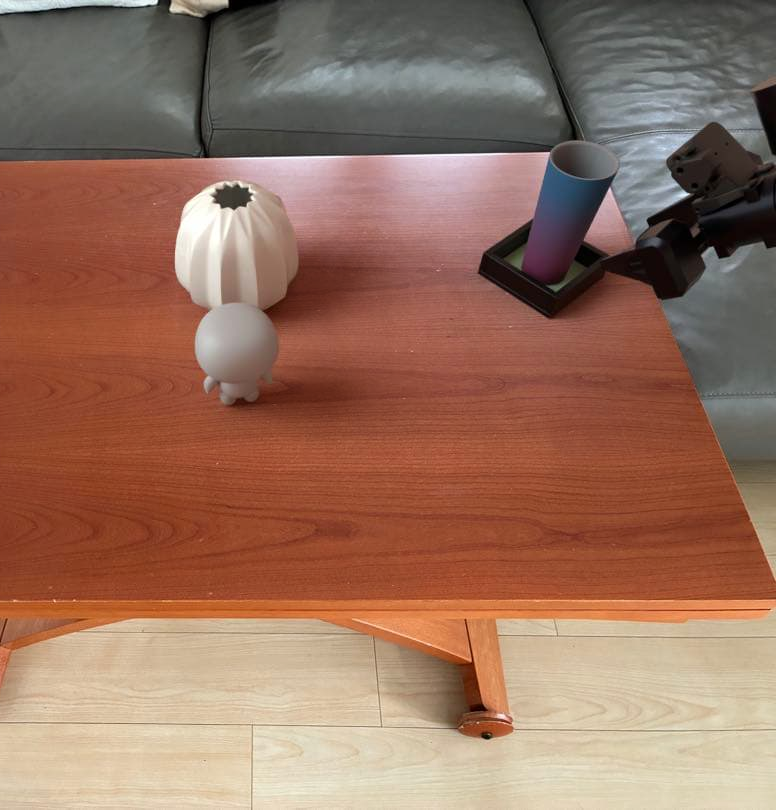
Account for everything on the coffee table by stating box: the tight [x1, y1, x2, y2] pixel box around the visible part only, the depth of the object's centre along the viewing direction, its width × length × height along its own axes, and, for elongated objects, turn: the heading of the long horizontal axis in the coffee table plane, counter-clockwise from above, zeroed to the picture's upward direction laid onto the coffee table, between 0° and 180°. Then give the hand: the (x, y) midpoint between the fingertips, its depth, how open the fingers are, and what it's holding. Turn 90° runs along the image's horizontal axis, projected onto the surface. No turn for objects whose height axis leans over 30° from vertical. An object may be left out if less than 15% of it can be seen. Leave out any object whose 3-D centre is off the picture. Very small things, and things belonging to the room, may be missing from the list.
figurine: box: [194, 303, 280, 406], centre depth 76 cm, size 8×8×12 cm
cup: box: [521, 139, 621, 285], centre depth 84 cm, size 7×7×15 cm
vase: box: [174, 179, 300, 312], centre depth 86 cm, size 14×14×13 cm
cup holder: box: [477, 218, 611, 320], centre depth 89 cm, size 10×10×3 cm
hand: (625, 243), depth 79 cm, fingers open, 9 cm apart
